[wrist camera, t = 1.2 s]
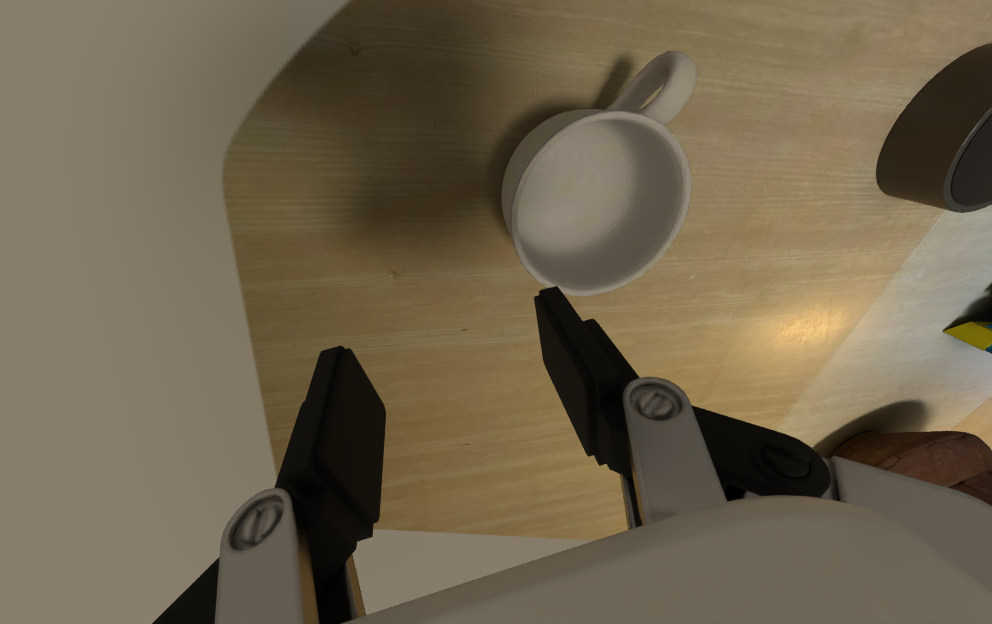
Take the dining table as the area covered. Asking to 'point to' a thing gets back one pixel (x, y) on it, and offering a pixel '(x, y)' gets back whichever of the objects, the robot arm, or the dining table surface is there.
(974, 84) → the milk pan
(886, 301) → the dining table surface
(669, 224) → the teacup
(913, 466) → the pottery vessel
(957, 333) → the decorative book
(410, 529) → the dining table surface
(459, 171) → the dining table surface
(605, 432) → the robot arm
